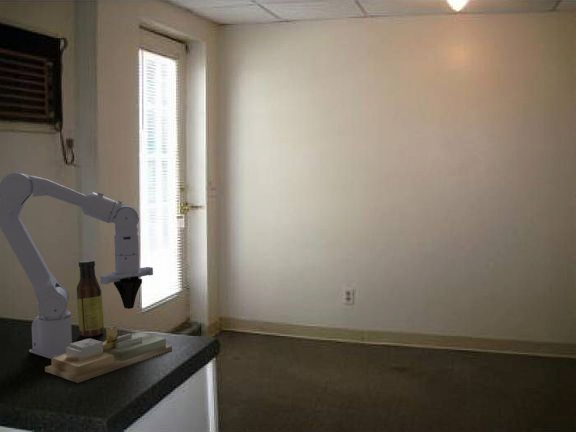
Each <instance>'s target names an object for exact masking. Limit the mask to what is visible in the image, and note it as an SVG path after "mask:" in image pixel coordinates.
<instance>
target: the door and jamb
mask: <svg viewBox="0 0 576 432" xmlns="http://www.w3.org/2000/svg"><path fill="white" fill-rule="evenodd" d="M131 334H132V338H135V337H138V336H141V337H142V342H140V343H137V344H134V345H130V346H127V347H124V348H121V349H115V347H113V348H109V349H106V350H103V354H102V355H99V356H96V357H92V358H89V359H86V360H83V361H80V362H79V361H76V360H73V359H70V358H67V357H66V353H65V354H62V355H59V356H55V357H52V358H51V365H47V366H44V372H45V373H48V374H52V375H55V376H57V377H59V378H63V379H65V380H68V381H71V382H74V383H77V384H79V383H81V382H82V383H83V382H85V381H87V380H90V379H93V378H96V377H99V376H102V375H105V374H108V373H110V372H113V371H117V370H119V369H122V368H125V367H128V366H131V365H134V364H136V363H139V362H142V361H145V360H148V359H151V358H154V357H156V355H157V356H160V355H162V353H163V354H165V352H166V353H168V352H171V351H173V346H172V345H168V344H167V341H166V339H167V338H165V337H161V336H158V335H153V334H149V333H145V332H140V331H136V332H132V333H131ZM159 354H160V355H159ZM153 356H154V357H153Z"/></svg>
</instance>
